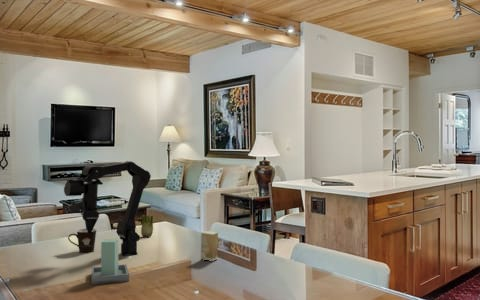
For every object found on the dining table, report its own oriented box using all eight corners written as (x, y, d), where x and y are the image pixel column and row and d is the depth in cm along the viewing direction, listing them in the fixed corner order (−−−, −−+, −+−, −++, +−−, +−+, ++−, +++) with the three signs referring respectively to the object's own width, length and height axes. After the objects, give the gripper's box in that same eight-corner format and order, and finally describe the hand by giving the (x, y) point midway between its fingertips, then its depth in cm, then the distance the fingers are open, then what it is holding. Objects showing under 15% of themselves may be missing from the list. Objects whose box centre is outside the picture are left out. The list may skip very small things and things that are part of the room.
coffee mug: (99, 249, 193) (99, 228, 193) (91, 254, 184) (91, 232, 184) (76, 248, 194) (76, 227, 194) (66, 253, 185) (67, 231, 185)
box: (126, 270, 161) (126, 264, 161) (129, 280, 148) (129, 274, 148) (91, 273, 156) (91, 267, 156) (91, 284, 144) (91, 278, 144)
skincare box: (200, 260, 176) (200, 232, 176) (205, 257, 180) (205, 230, 180) (212, 262, 173) (213, 234, 173) (218, 259, 177) (218, 232, 177)
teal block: (105, 272, 155) (105, 239, 155) (118, 272, 155) (118, 239, 155) (101, 276, 150) (101, 242, 150) (114, 276, 150) (114, 242, 150)
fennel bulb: (153, 236, 222) (153, 214, 221) (149, 238, 217) (149, 216, 217) (144, 235, 223) (144, 214, 223) (139, 237, 218) (139, 215, 218)
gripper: (69, 193, 176) (67, 228, 176) (70, 197, 160) (68, 236, 159) (96, 193, 181) (94, 227, 181) (100, 197, 164) (98, 235, 164)
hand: (88, 231), depth 171 cm, fingers open, 9 cm apart
